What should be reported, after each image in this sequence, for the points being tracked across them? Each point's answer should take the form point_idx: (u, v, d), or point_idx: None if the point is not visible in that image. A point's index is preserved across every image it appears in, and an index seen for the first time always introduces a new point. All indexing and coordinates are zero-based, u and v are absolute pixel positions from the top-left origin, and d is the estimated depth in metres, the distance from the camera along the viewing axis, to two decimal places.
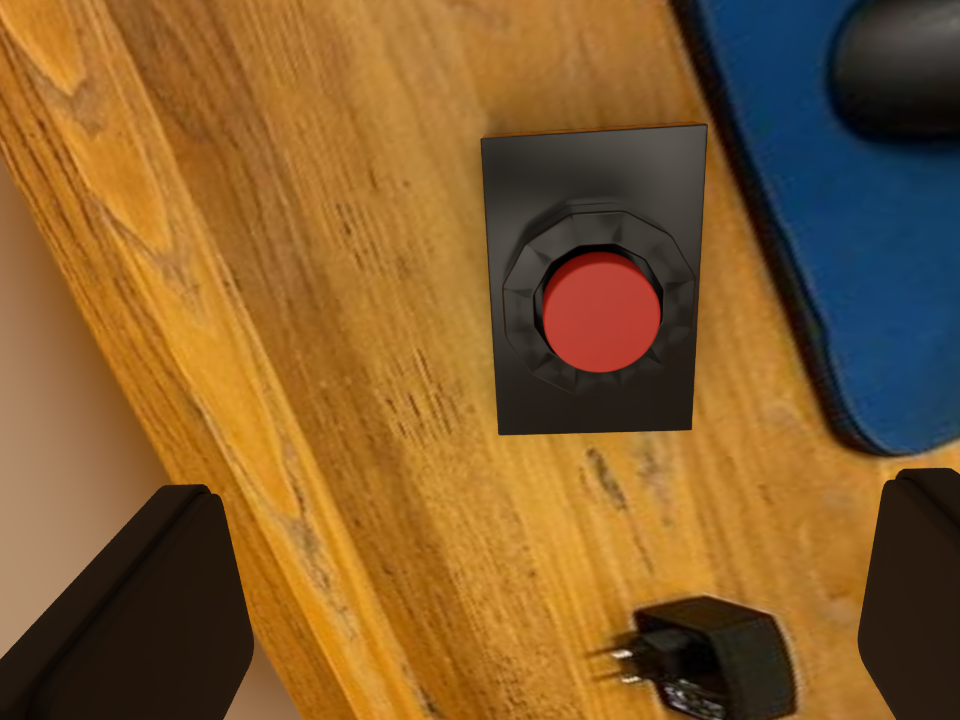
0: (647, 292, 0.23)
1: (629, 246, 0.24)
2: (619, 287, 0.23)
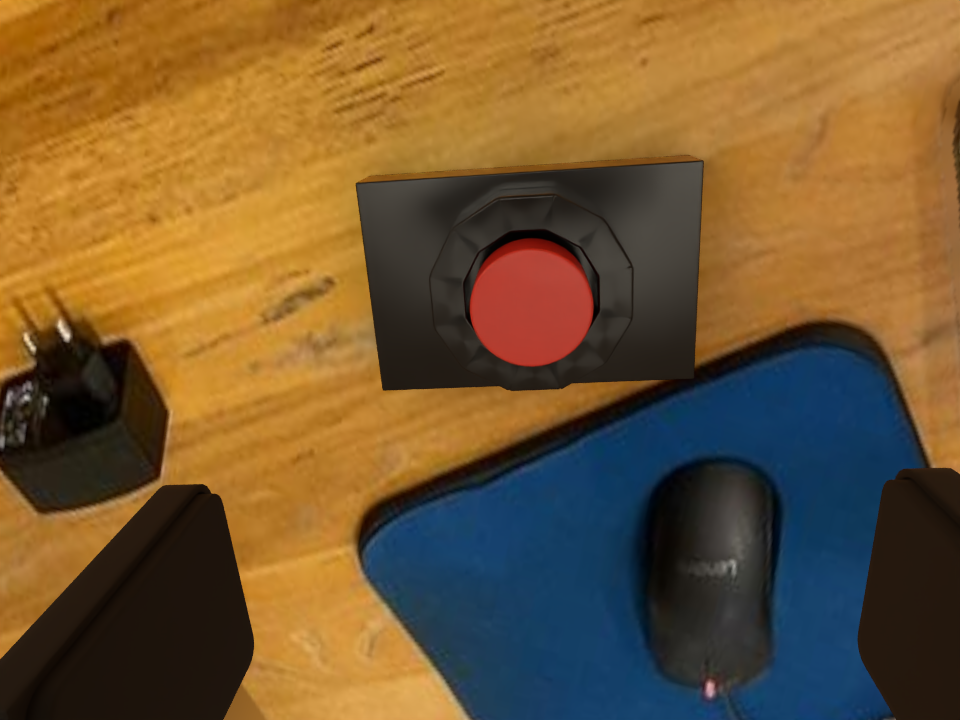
0: (560, 352, 0.23)
1: (596, 325, 0.24)
2: (566, 326, 0.22)
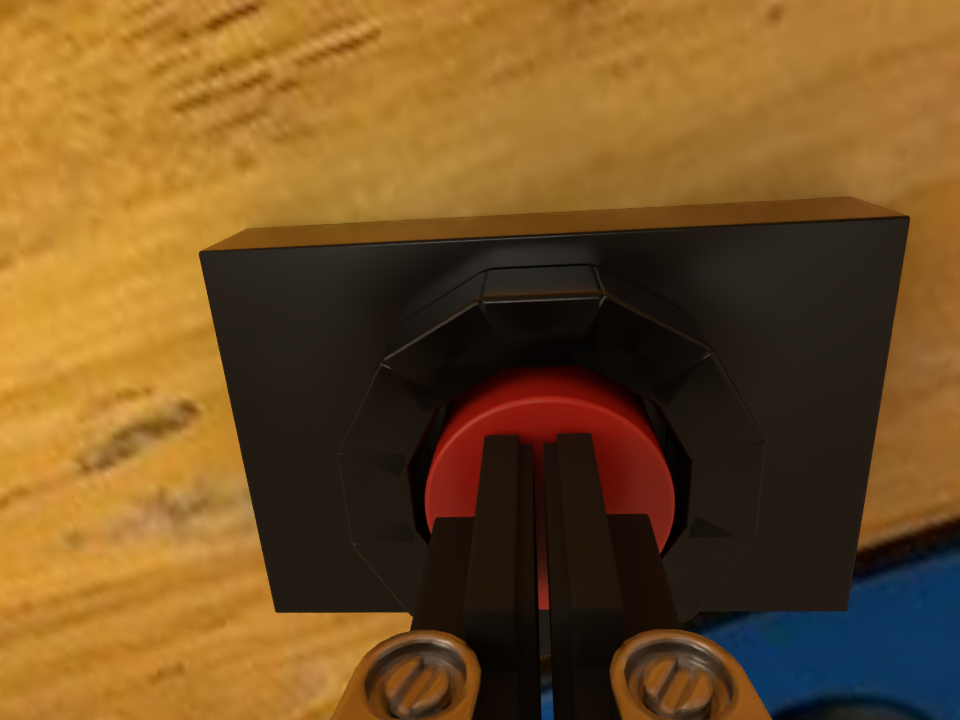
0: None
1: (680, 550, 0.12)
2: None
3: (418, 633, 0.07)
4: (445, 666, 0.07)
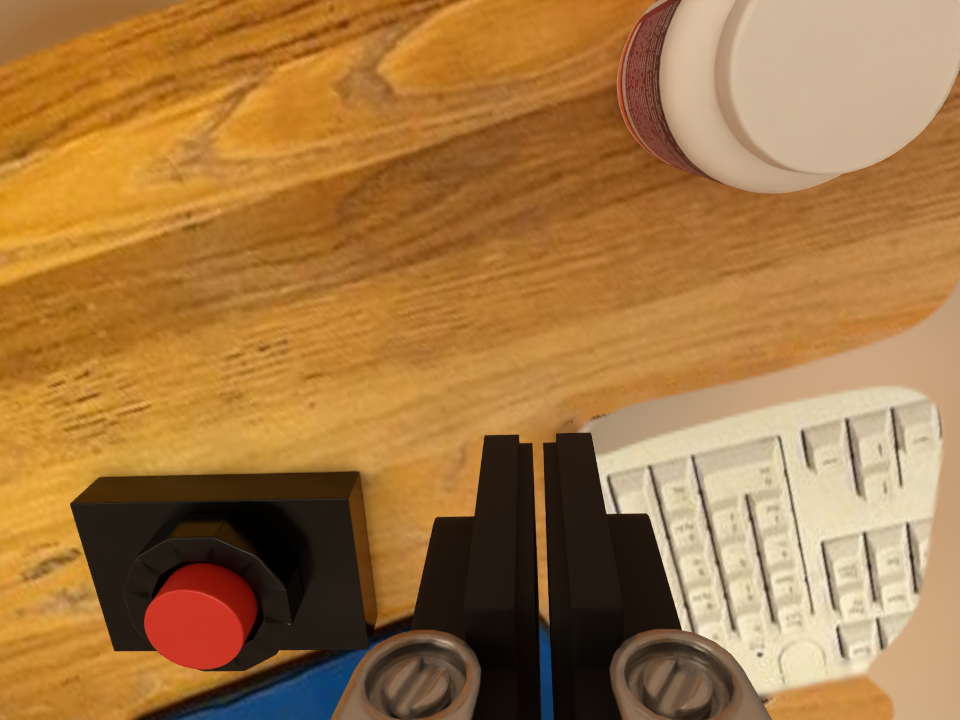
0: (222, 660, 0.28)
1: (263, 628, 0.29)
2: (223, 643, 0.27)
3: (418, 633, 0.07)
4: (445, 666, 0.07)
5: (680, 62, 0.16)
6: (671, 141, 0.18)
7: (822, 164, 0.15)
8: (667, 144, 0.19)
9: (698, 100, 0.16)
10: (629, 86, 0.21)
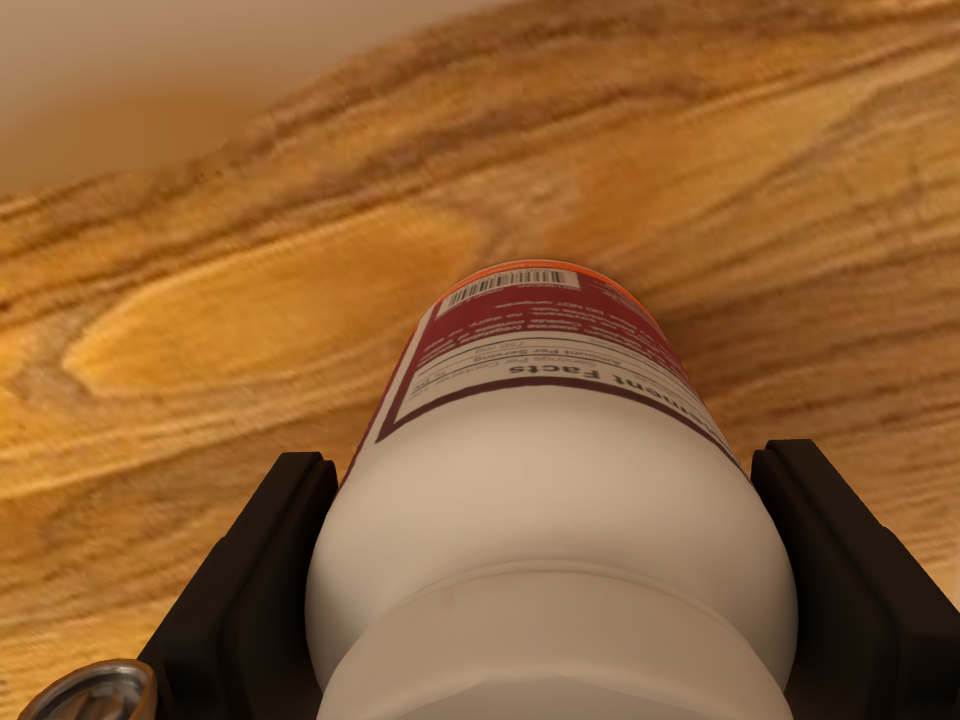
0: None
1: None
2: None
3: (112, 662, 0.07)
4: (132, 696, 0.07)
5: (313, 650, 0.08)
6: None
7: None
8: None
9: None
10: None
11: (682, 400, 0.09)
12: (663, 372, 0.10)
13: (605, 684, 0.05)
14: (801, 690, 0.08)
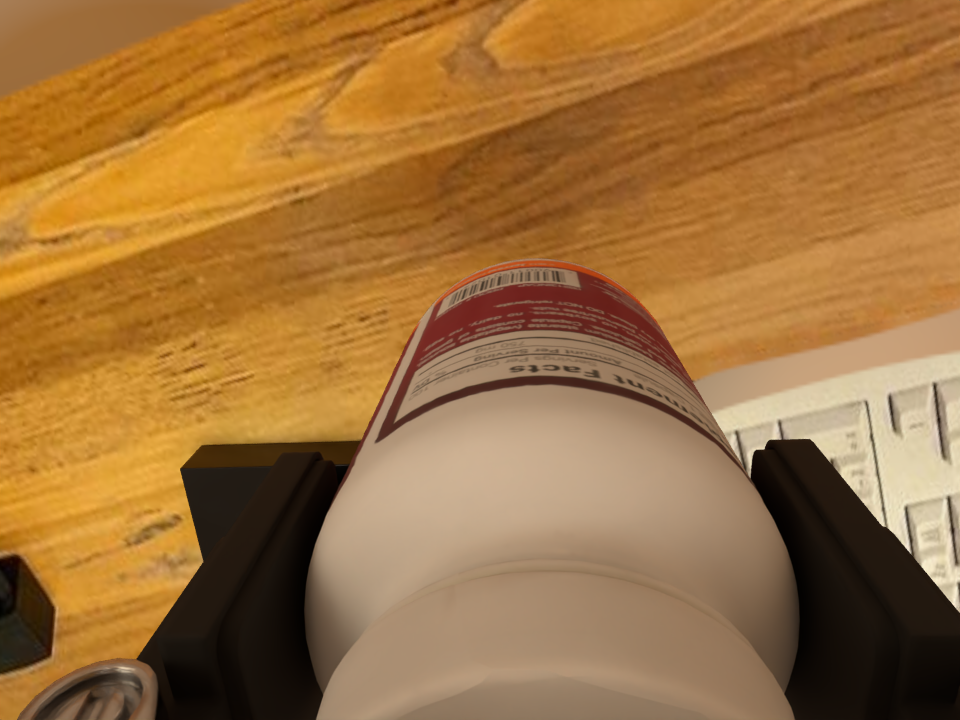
0: None
1: None
2: None
3: (112, 662, 0.07)
4: (132, 696, 0.07)
5: (313, 650, 0.08)
6: None
7: None
8: None
9: None
10: None
11: (683, 399, 0.09)
12: (664, 371, 0.10)
13: (605, 683, 0.05)
14: (801, 690, 0.08)
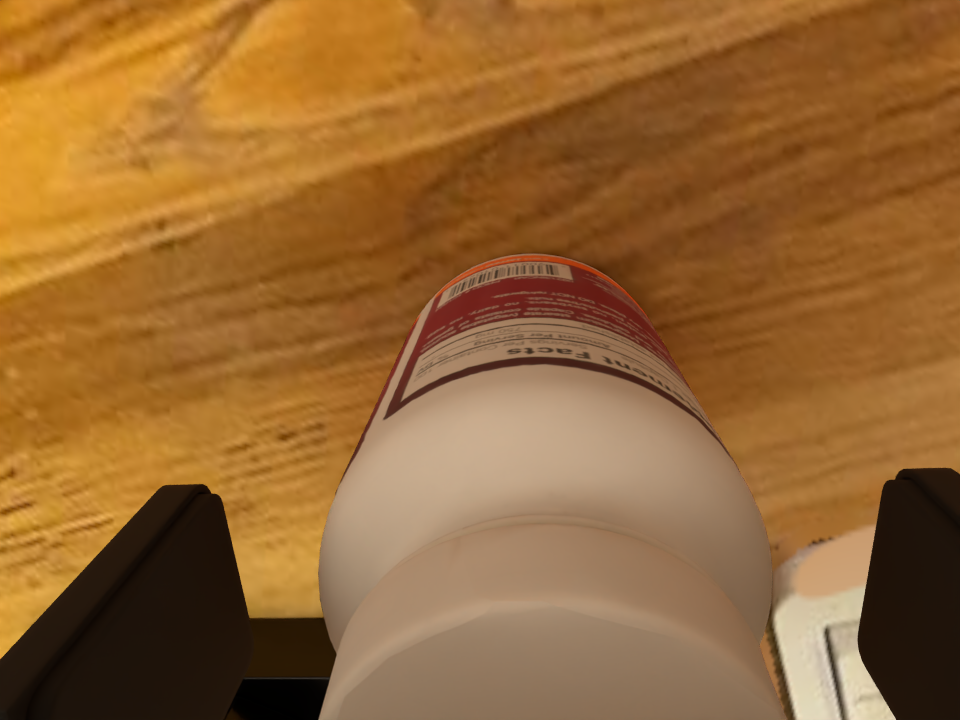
0: None
1: None
2: None
3: None
4: None
5: (328, 609, 0.09)
6: None
7: None
8: None
9: None
10: None
11: (667, 380, 0.10)
12: (650, 355, 0.11)
13: (592, 611, 0.06)
14: None
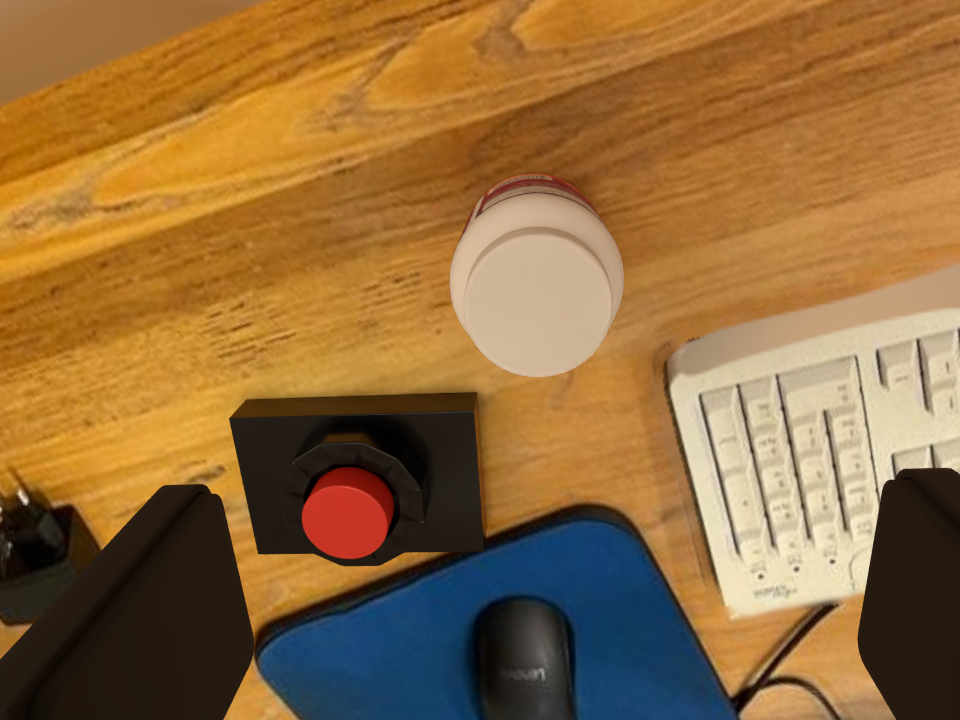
0: (367, 550, 0.32)
1: (399, 525, 0.33)
2: (370, 534, 0.32)
3: None
4: None
5: (455, 287, 0.24)
6: None
7: (532, 371, 0.22)
8: None
9: None
10: None
11: (586, 206, 0.24)
12: (582, 201, 0.25)
13: (549, 237, 0.20)
14: None
